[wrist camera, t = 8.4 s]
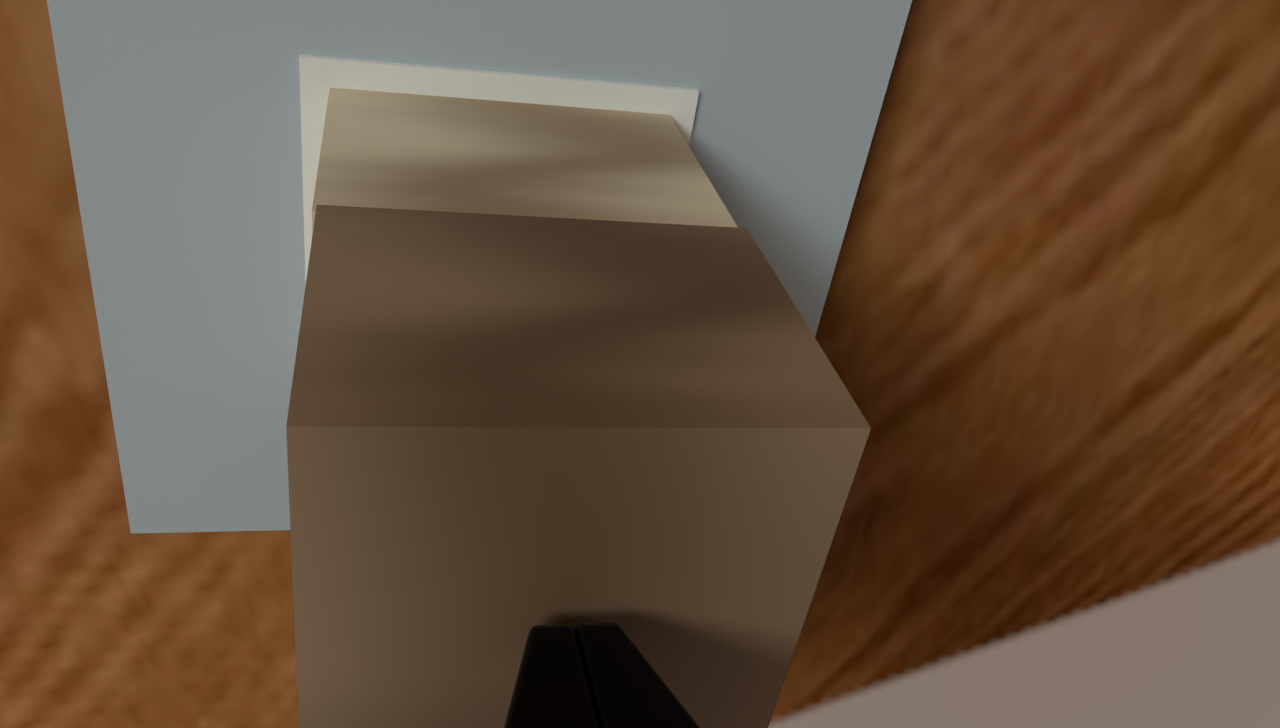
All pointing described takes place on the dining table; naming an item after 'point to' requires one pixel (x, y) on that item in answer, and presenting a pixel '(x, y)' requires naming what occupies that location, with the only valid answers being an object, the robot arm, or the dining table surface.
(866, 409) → the dining table surface
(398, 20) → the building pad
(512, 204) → the maple block
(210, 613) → the dining table surface
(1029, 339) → the dining table surface
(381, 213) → the walnut block
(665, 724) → the robot arm
